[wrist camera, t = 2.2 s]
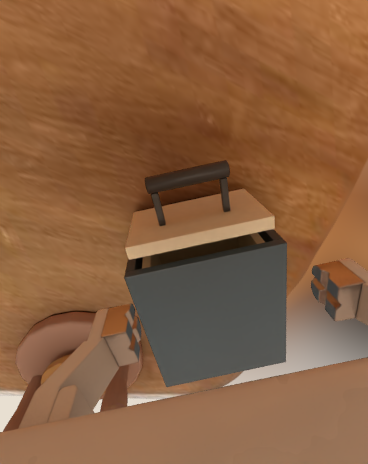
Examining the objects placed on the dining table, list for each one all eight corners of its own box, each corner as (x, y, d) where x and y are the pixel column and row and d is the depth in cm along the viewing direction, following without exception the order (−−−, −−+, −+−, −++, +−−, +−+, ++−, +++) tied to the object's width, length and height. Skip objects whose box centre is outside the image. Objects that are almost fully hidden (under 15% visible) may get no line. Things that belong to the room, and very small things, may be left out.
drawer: (120, 171, 24) (105, 195, 17) (240, 145, 24) (273, 159, 17) (163, 307, 33) (164, 360, 26) (251, 289, 33) (276, 336, 26)
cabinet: (134, 227, 28) (124, 277, 20) (248, 202, 28) (287, 242, 20) (164, 320, 35) (166, 387, 27) (255, 301, 35) (285, 362, 27)
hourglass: (129, 301, 33) (67, 695, 11) (152, 378, 41) (144, 696, 19) (0, 321, 32) (-346, 779, 10) (48, 395, 40) (-87, 743, 18)
